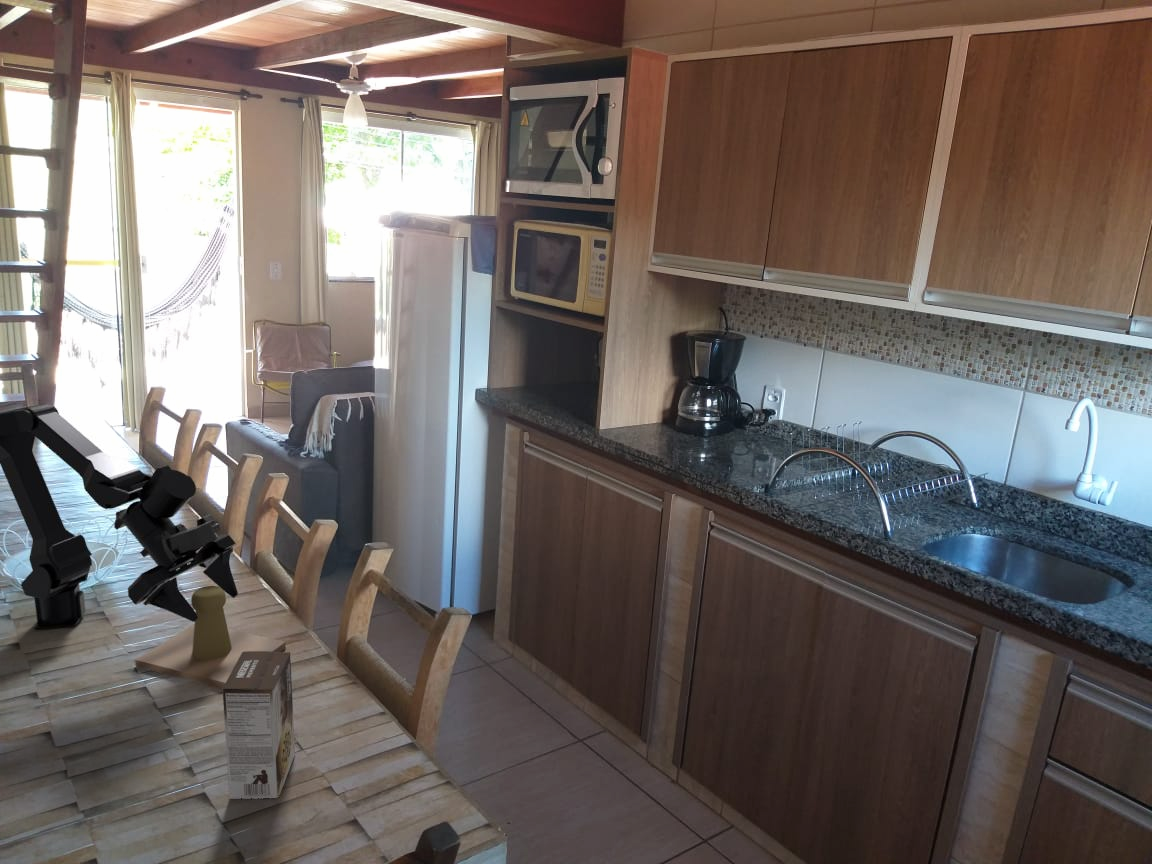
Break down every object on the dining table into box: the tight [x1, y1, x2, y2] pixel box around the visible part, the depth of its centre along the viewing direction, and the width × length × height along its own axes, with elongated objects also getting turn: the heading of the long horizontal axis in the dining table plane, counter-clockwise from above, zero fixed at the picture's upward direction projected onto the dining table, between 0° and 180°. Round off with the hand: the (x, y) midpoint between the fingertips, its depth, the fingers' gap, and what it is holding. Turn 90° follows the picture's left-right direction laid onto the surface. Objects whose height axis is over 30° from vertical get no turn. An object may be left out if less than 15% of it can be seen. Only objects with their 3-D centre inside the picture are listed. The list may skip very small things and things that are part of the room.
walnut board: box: [135, 623, 287, 690], centre depth 138 cm, size 18×14×1 cm
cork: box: [190, 585, 232, 660], centre depth 137 cm, size 6×6×11 cm
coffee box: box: [221, 651, 296, 800], centre depth 109 cm, size 9×6×16 cm
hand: (216, 607), depth 136 cm, fingers open, 9 cm apart
